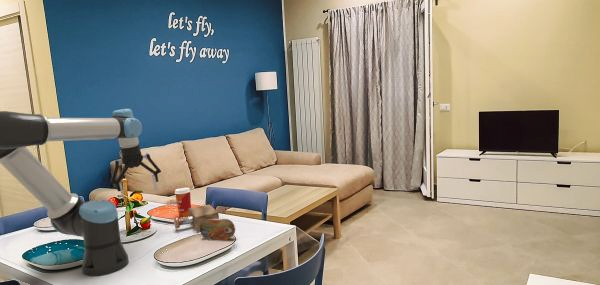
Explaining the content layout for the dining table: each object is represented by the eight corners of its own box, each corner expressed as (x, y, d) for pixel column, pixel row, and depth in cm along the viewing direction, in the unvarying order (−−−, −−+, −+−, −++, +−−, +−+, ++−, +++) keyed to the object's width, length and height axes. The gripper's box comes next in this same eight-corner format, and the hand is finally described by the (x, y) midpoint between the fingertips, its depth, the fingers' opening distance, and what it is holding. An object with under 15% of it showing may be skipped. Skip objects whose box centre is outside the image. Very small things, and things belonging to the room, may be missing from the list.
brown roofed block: (176, 230, 178) (175, 218, 178) (174, 226, 183) (173, 215, 182) (207, 223, 184) (206, 212, 184) (205, 220, 189) (203, 209, 188)
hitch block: (197, 232, 177) (195, 217, 176) (189, 222, 191) (188, 208, 190) (219, 227, 181) (218, 212, 180) (211, 218, 196) (209, 204, 195)
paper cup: (176, 216, 203) (173, 188, 201) (191, 213, 206) (189, 186, 205) (178, 220, 196) (175, 192, 194) (194, 217, 199) (191, 189, 197)
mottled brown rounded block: (200, 239, 169) (198, 219, 168) (204, 236, 172) (202, 217, 171) (233, 241, 164) (231, 220, 163) (237, 238, 167) (235, 218, 166)
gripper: (158, 138, 181) (167, 184, 186) (96, 151, 169) (108, 199, 174) (161, 140, 174) (171, 187, 179) (97, 153, 163) (109, 203, 168)
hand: (140, 193), depth 177 cm, fingers open, 13 cm apart
